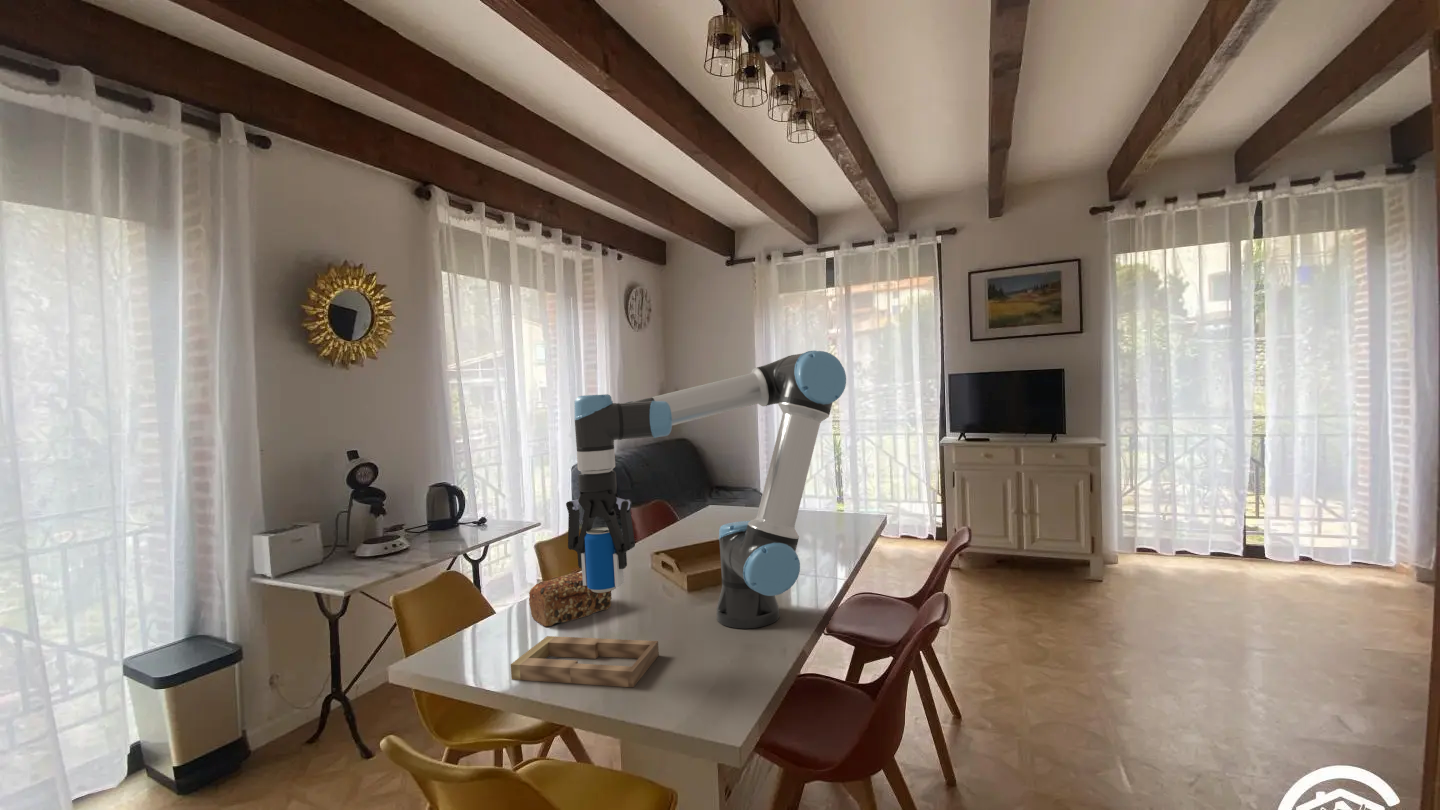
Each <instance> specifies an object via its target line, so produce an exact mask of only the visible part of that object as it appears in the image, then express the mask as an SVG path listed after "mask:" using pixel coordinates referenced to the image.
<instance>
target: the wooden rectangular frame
mask: <svg viewBox="0 0 1440 810" xmlns="http://www.w3.org/2000/svg"><path fill="white" fill-rule="evenodd" d="M659 651H660V650H659V640H644V639H642V640H641V639H640V640H639V639H638V640H637V639H620V638H619V639H618V638H617V639H616V638H599V637H598V638H596V637H578V636H577V637H575V636H557V635H554V636H553V635H547V636H546V637H544V638H543V639H541V640H540V641H539V642H538V643H536V644H535V645H533V646H532V647H531V648H530V649H528V650H527V651H526V652H525V653H524V654H522V655H521V656H520V657H518V658H516V660H514V661H513V662H511V663H510V673H511V674H510V677H511V678H510V679H511V680H515V681H516V680H518V681H519V680H520V681H529V682H530V681H531V682H547V683H548V682H549V683H560V684H561V683H564V684H575V685H576V684H577V685H578V684H579V685H590V686H591V685H592V686H594V685H595V686H606V687H607V686H609V687H623V688H634V687H635V686H636V685H637V684H638V682H639V681H640V680H641V679H642V677H643V676H644V675H645V674H646V672H647V671H648V670H649V669H650V668H651V666H652V665H653V663H654V662H656V660H657V658H658V657H659V656H660V653H659ZM549 657H556V659H554V658H553V659H552V658H549ZM598 657H603V658H604V657H605V658H621V659H636V661H635V662H634V663H633V664H632V665H631V666H629V665H627V666H626V665H610V664H593V663H579V662H578V661H579V660H576V658H577V659H594V660H596V659H597V658H598ZM557 658H571V659H572V660H571V659H557ZM573 658H575V660H573Z"/></svg>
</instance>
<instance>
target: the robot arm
mask: <svg viewBox="0 0 1440 810" xmlns="http://www.w3.org/2000/svg"><path fill="white" fill-rule="evenodd" d="M846 385H847V375H846V371H845V368H844V366H843V365H842V363H841V361H840V360H839V359H838V358H837V357H836V356H835V355H834V354H832V353H830V352H829V351H828V352H827V351H825V350H807V351H805V352H803V353H797V354H791V355H788V356H785V357H783V358H780V359H778V360H776V361H772V362H769V363H767V364H764V365H762V366H757V367H754V368H752V370H751V372H750V373H746V374H741V375H738V376H734V377H730V378H725V379H720V380H717V381H714V382H708V383H705V384H702V385H701V384H700V385H695V386H693V387H688V388H684V389H679V390H676V391H672V392H668V393H664V394H660V395H656V396H652V397H648V398H643V399H639V400H635V401H627V402H624V403H619V402H617V403H615V402H614V401H613V400H612V396H611V394H607V393H605V394H588V395H586V394H585V395H579V396H578V397H576V398H575V400H574V431H575V443H576V456H577V457H576V461H577V462H576V463H577V464H576V466H577V470H578V471H579V474H578V475H577V478H578V479H577V480H578V489H579V496H578V499H577V498H576V499H571V500H569V501H567V502H566V503H565V506H566V508H567V512H568V518H567V519H568V523H567V527H568V530H567V532H568V533H567V548H568V549H569V550H570V551H572V550H573V551H575V552H576V553H577V566H578V568H579V569H581V573H582V578H583V586H587V572H586V555H585V535H586V534H587V533H586V531H589V530H591V529H592V528H593V525H594V522H595V519H596V517H597V518H602V519H603V522H604V523H605V524H606V527H608V529H609V532H610V535H611V537H612V540H613V543H614V546H615V548H616V551H617V552H615V553H614V554H613V560H614V577H615V587H616V588H618V587H621V585H623V584H624V583H625V575H624V573H625V572H624V569H625V568H626V567H628V559H627V558H628V556H627V552H628V551H630V550H632V549H633V548H635V546H636V542H635V535H634V528H633V527H634V526H633V521H632V512H631V510H632V504H633V501H632V499H630V498H628V499H624V498H620V496H619V495H618V492H617V484H618V483H617V472H616V470H614V468H616V459H615V458H616V457H615V455H616V453H615V441H620V440H634V439H651V438H654V439H657V438H659V437H660V438H661V437H667V436H669V435H670V434H671V432H672V427H673V426H676V425H679V424H684V423H687V422H691V421H696V420H699V419H704V418H707V417H711V416H715V415H718V414H723V413H726V412H730V411H735V410H738V409H742V408H746V407H751V406H755V405H760V407H761V406H762V407H767V406H771V405H777V404H778V406H779V408H780V410H781V413H782V416H781V419H780V423H779V428H778V432H777V435H776V438H775V439H776V440H775V444H774V447H773V451H772V455H771V459H770V462H769V463H770V464H769V467H768V471H767V475H766V477H765V478H766V479H765V484H764V486H763V491H762V495H761V498H760V502H759V506H758V510H757V514H756V517H755V518H753V519H751V520H743V521H742V520H741V521H734V522H729V523H728V522H727V523H724V524H722V525H720V527H719V530H718V531H719V533H718V534H719V535H718V541H719V553H720V554H719V556H720V570H721V590H720V594H719V597H718V602H717V606H716V620H717V622H718V623H719V624H721V625H723V626H725V627H728V628H733V629H757V628H763V627H766V626H770V625H771V624H774V623H775V622H777V621H778V620H779V619H780V607H779V603H778V600H777V598H776V596H779V595H782V594H784V593H785V592H787V591H789V590H790V589H791V588H792V587H793V586H794V585H795V583H796V582H797V580H798V578H799V575H800V572H801V561H800V558H799V556H798V554H797V547H798V543H799V538H800V536H799V534H798V532H797V531H796V528H795V527H796V521H797V518H798V513H799V510H800V506H801V501H802V498H803V494H804V489H805V486H806V481H807V478H808V473H809V470H810V465H811V463H812V462H811V461H812V457H813V454H814V449H815V445H816V442H817V438H818V433H819V430H820V425H821V423H822V422H823V421H825V420H827V419H828V418H829V417H830V416H831V415H830V414H831V410H832V406H833V403H834V402H836V401H838V399H839V398H841V396H842V395H843V394H844V391H845V389H846ZM617 506H618V510H619V515H620V523H621V524H620V525H619V522H618V519H617V514H616V510H615V508H616V507H617ZM581 508H582V509H583V510H584V512H583V515H582V516H583V517H582V525H581V528H580V513H581V512H580V509H581ZM620 526H621V528H620Z"/></svg>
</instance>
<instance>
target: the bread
mask: <svg viewBox="0 0 1440 810" xmlns="http://www.w3.org/2000/svg"><path fill="white" fill-rule="evenodd" d="M528 596H529V598H528V604H529V608H530V614H531V618H532V619H533V621H535V622H537V623H538V624H539V625H541V626H542V627H543V628H544V627H552V626H554V625H555V624H561V623H562V624H563V623H568V622H570V621H573V620H577V619H581V618H584V617H588V616H591V615H593V614H595V613H598V612H600V611H604V610H605V611H606V610H608V609H610V608H611V607H612V606H611V605H612V599H613V598H612V591H609V592H603V593H596V592H593V591H591V589H589V588H588V587H587V586H583V578H582V572H572V573H569V574H565V575H560V576H559V577H554V578H551V579H549V580H548V579H547V580H541V581H540V582H538V583H537V584H535V585H534V586H533V587H532V588H530V590H529V592H528Z"/></svg>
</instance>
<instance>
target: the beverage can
mask: <svg viewBox="0 0 1440 810" xmlns="http://www.w3.org/2000/svg"><path fill="white" fill-rule="evenodd" d="M586 533H587V534H586V535H585V555H586V572H587V587H588V588H589V589H591V591H593V592H596V593H603V592H609V591H611V592H612V591H614V590H616V589H617V587H615V577H614V560H613V554H614V553H615V552H617V551H616V548H615V546H614V543H613V540H612V537H611V535H610V532H609V529H608V527H607V526H601V527H600V526H598V527H592V529H591V530H589V531H586Z"/></svg>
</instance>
